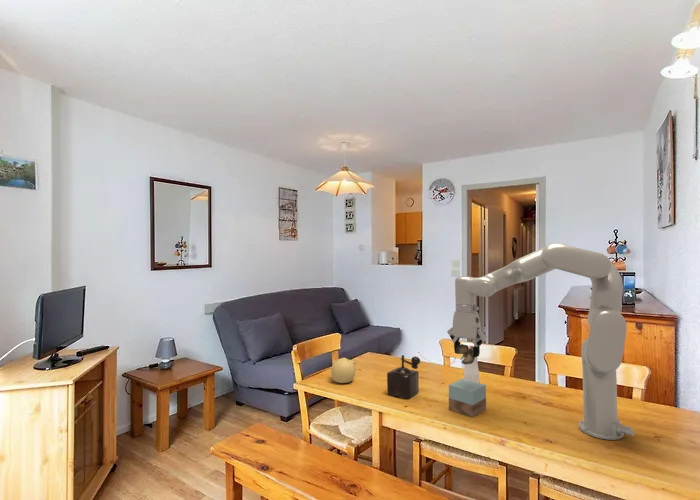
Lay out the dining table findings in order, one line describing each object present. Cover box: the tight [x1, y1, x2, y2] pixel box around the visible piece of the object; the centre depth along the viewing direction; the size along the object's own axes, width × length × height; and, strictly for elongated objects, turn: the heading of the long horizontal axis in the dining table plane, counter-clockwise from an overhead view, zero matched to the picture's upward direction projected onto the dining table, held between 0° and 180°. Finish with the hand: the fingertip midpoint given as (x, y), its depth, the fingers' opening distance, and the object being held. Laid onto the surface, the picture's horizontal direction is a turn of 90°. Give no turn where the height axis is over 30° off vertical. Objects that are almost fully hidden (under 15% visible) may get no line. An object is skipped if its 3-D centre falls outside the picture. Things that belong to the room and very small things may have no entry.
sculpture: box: [330, 357, 356, 384], centre depth 182 cm, size 11×12×11 cm
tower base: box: [448, 397, 487, 419], centre depth 146 cm, size 10×10×5 cm
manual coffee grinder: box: [386, 354, 421, 400], centre depth 163 cm, size 16×11×18 cm
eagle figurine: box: [455, 343, 475, 365], centre depth 144 cm, size 8×7×9 cm
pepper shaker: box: [463, 344, 481, 383], centre depth 169 cm, size 7×7×19 cm
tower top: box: [448, 378, 487, 405], centre depth 146 cm, size 10×10×5 cm
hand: (466, 354), depth 146 cm, fingers closed on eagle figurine, 7 cm apart
